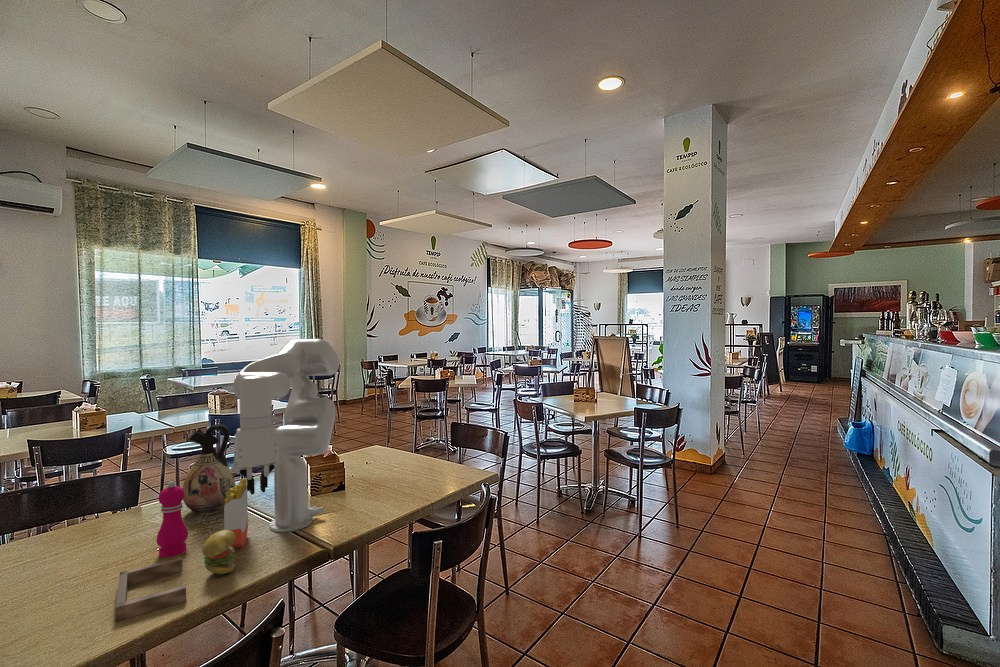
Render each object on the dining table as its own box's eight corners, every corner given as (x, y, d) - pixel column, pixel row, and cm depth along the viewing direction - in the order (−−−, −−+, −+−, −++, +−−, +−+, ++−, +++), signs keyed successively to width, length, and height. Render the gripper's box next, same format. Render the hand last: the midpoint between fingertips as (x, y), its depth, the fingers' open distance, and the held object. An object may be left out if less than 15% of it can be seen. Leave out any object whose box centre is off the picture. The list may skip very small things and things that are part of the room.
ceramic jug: (176, 524, 150) (174, 430, 149) (188, 507, 164) (187, 421, 164) (237, 516, 156) (235, 426, 156) (244, 500, 170) (242, 417, 170)
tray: (181, 568, 123) (181, 557, 123) (186, 600, 108) (186, 587, 108) (120, 584, 115) (119, 572, 115) (116, 621, 101) (115, 607, 101)
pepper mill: (172, 560, 127) (170, 486, 127) (150, 557, 129) (148, 484, 128) (194, 547, 134) (193, 477, 134) (173, 545, 136) (172, 476, 135)
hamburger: (240, 573, 120) (239, 526, 120) (208, 585, 115) (207, 536, 114) (229, 563, 125) (228, 518, 125) (198, 574, 120) (197, 527, 120)
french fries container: (222, 554, 130) (221, 489, 130) (231, 537, 141) (230, 477, 140) (241, 551, 132) (240, 487, 132) (248, 535, 142) (247, 475, 142)
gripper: (285, 416, 132) (286, 482, 133) (219, 424, 123) (221, 494, 123) (291, 421, 126) (292, 489, 127) (223, 429, 117) (224, 503, 117)
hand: (257, 491), depth 125 cm, fingers closed
